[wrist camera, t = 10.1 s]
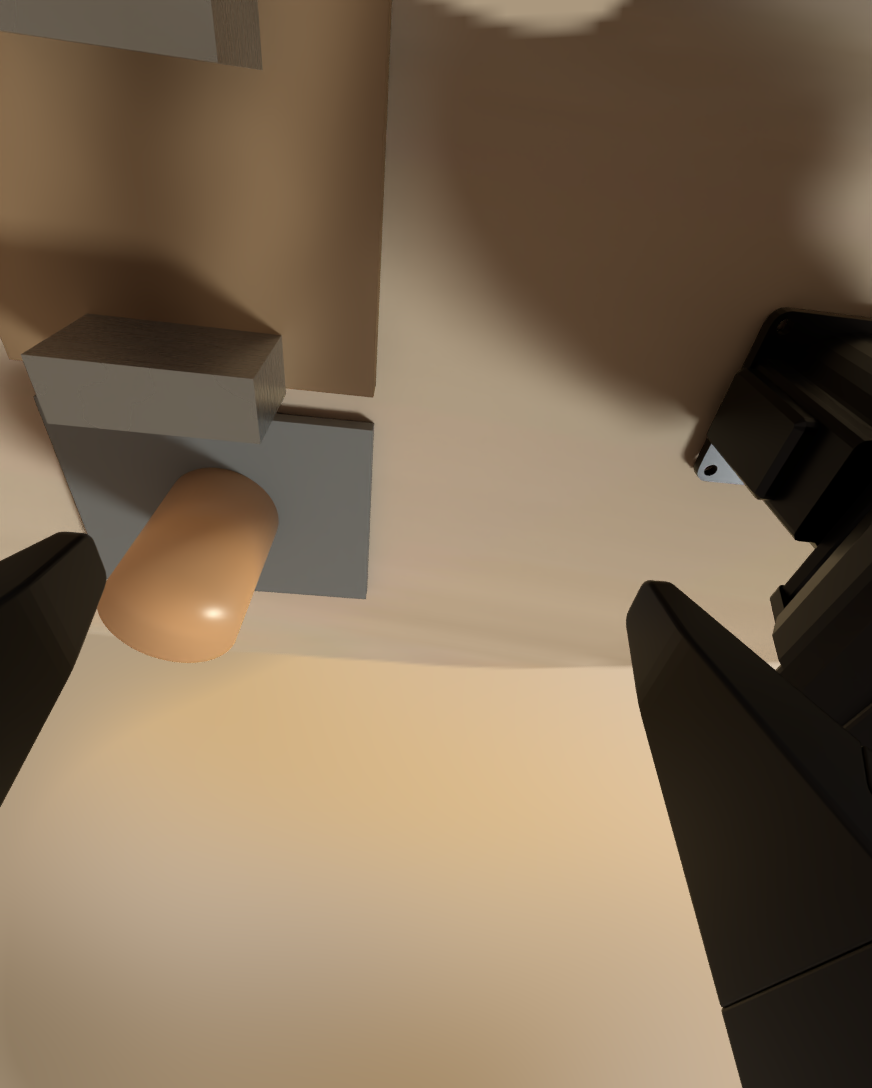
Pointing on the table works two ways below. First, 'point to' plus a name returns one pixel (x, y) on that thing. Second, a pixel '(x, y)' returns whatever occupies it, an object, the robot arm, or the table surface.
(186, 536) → the orange-tan rounded capsule
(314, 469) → the pad
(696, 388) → the table surface
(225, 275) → the board
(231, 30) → the clamp jaws
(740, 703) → the robot arm
